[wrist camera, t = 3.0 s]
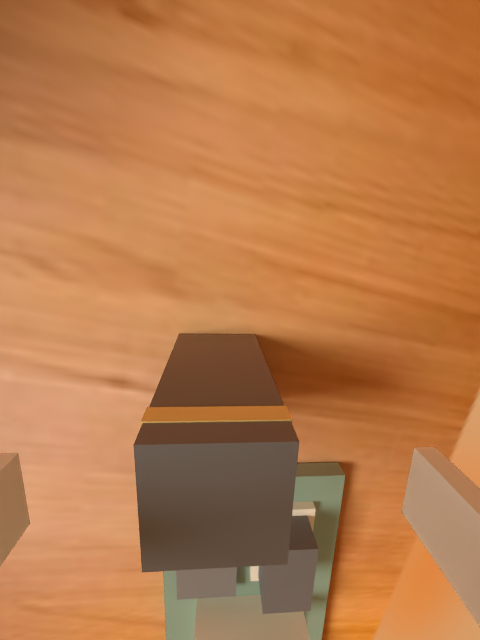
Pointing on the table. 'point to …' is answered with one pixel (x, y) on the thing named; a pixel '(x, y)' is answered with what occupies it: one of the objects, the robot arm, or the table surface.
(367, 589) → the table surface
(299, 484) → the board
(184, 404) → the plug
